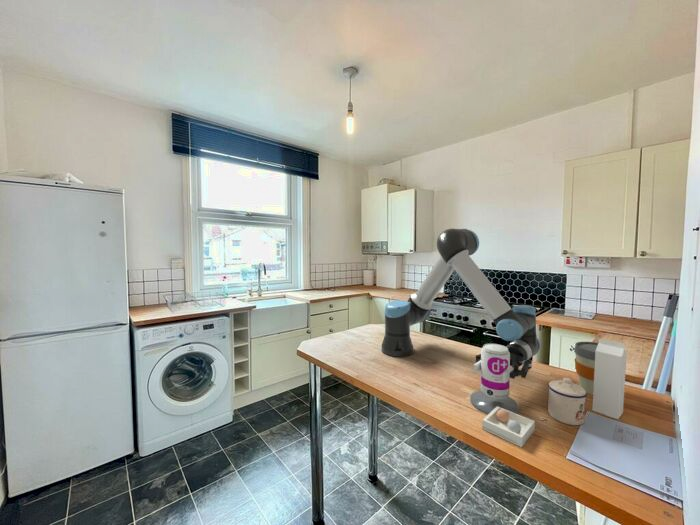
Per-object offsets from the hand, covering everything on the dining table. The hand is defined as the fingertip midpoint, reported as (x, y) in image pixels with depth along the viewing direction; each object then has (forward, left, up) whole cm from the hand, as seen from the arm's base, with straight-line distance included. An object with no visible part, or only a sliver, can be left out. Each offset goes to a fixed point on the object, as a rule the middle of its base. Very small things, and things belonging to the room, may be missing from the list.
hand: (488, 373), depth 90 cm
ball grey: (+10, -7, -9) cm, 15 cm away
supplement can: (0, +5, -8) cm, 9 cm away
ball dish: (+8, -5, -12) cm, 15 cm away
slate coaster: (0, +5, -12) cm, 13 cm away
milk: (+25, +26, -12) cm, 38 cm away
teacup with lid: (+17, +15, -12) cm, 25 cm away
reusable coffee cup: (+20, +40, -12) cm, 46 cm away
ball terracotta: (+6, -4, -9) cm, 12 cm away
